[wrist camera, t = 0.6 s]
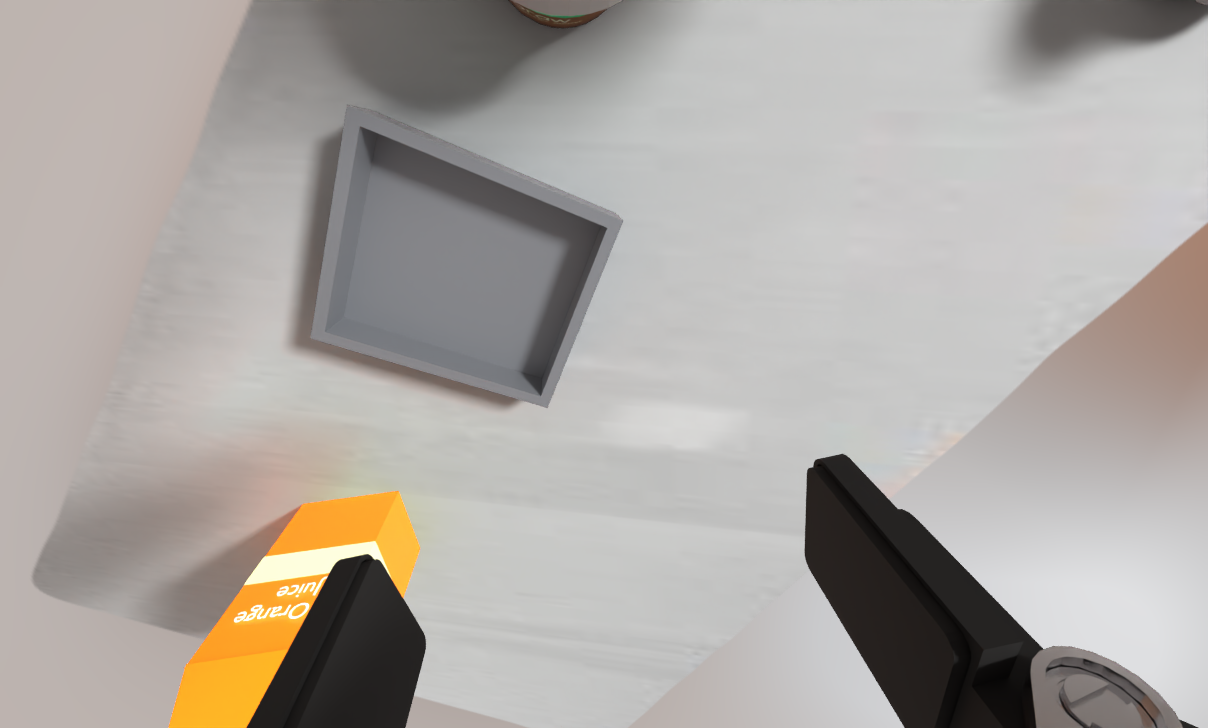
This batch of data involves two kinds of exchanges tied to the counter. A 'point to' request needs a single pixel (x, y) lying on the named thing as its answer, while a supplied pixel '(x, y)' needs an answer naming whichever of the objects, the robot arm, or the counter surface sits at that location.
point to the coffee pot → (1202, 2)
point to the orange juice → (287, 603)
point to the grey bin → (455, 261)
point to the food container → (562, 11)
